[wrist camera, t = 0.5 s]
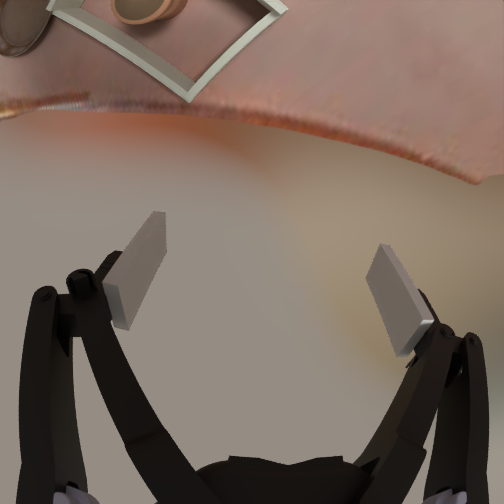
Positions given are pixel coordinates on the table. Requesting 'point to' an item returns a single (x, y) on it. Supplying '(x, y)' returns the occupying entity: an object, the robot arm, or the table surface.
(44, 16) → the plant saucer
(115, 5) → the terracotta pot
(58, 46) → the table surface
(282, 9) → the frame
